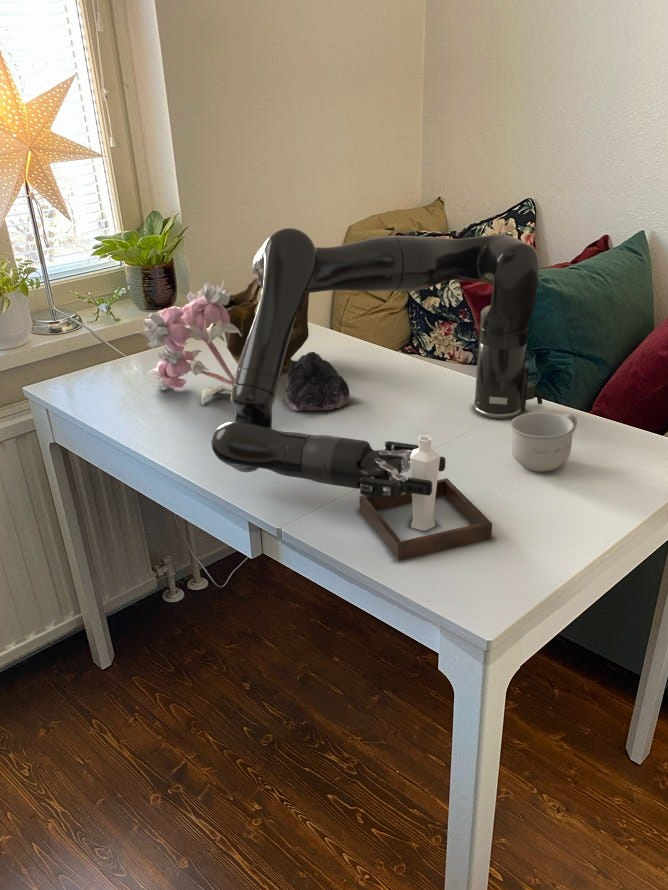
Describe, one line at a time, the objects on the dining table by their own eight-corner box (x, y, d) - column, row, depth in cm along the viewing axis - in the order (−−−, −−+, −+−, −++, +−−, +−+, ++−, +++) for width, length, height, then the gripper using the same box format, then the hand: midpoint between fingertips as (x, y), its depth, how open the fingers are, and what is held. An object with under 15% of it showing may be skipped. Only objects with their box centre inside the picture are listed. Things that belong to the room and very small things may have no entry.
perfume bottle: (435, 533, 136) (438, 446, 128) (407, 530, 137) (408, 443, 128) (439, 518, 140) (443, 433, 132) (412, 515, 140) (414, 430, 132)
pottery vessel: (239, 391, 182) (230, 296, 172) (207, 377, 189) (196, 285, 178) (325, 358, 198) (322, 270, 187) (293, 347, 204) (288, 261, 194)
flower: (232, 354, 196) (170, 258, 180) (286, 374, 180) (224, 271, 164) (165, 412, 190) (95, 319, 174) (215, 438, 174) (142, 338, 158)
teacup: (531, 483, 149) (535, 441, 145) (495, 457, 158) (499, 416, 153) (595, 466, 155) (602, 424, 151) (558, 441, 163) (563, 401, 159)
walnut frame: (446, 492, 147) (447, 477, 145) (491, 538, 135) (492, 523, 133) (359, 510, 142) (359, 495, 140) (398, 560, 129) (398, 544, 128)
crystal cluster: (333, 422, 171) (337, 373, 166) (270, 407, 174) (272, 359, 169) (357, 401, 183) (361, 355, 178) (297, 387, 186) (300, 341, 181)
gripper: (319, 459, 129) (427, 475, 125) (351, 420, 141) (450, 433, 136) (321, 504, 133) (425, 520, 129) (352, 462, 145) (448, 476, 141)
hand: (438, 476), depth 133 cm, fingers open, 7 cm apart
